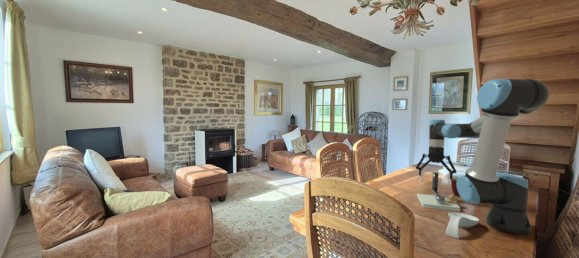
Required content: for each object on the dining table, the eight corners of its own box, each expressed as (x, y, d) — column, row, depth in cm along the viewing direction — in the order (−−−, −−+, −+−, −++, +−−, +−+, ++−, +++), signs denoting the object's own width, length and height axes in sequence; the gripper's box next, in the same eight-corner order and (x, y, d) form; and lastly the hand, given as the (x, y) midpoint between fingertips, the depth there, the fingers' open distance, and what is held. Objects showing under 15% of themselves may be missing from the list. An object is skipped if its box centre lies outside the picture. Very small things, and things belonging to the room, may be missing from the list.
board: (460, 211, 129) (460, 199, 129) (423, 207, 134) (423, 195, 134) (449, 200, 146) (450, 189, 146) (417, 196, 151) (417, 186, 151)
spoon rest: (451, 217, 123) (451, 202, 122) (481, 224, 114) (482, 209, 114) (436, 233, 106) (437, 216, 105) (470, 243, 98) (471, 225, 97)
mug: (472, 196, 153) (473, 180, 152) (469, 199, 147) (470, 182, 147) (452, 192, 161) (453, 177, 160) (448, 195, 155) (449, 179, 154)
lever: (445, 201, 132) (446, 179, 131) (436, 200, 133) (437, 178, 132) (438, 192, 147) (439, 172, 147) (430, 191, 149) (431, 172, 148)
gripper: (462, 147, 141) (460, 184, 142) (413, 144, 155) (412, 178, 156) (462, 148, 135) (461, 187, 136) (411, 145, 149) (410, 181, 150)
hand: (435, 183), depth 146 cm, fingers open, 13 cm apart
